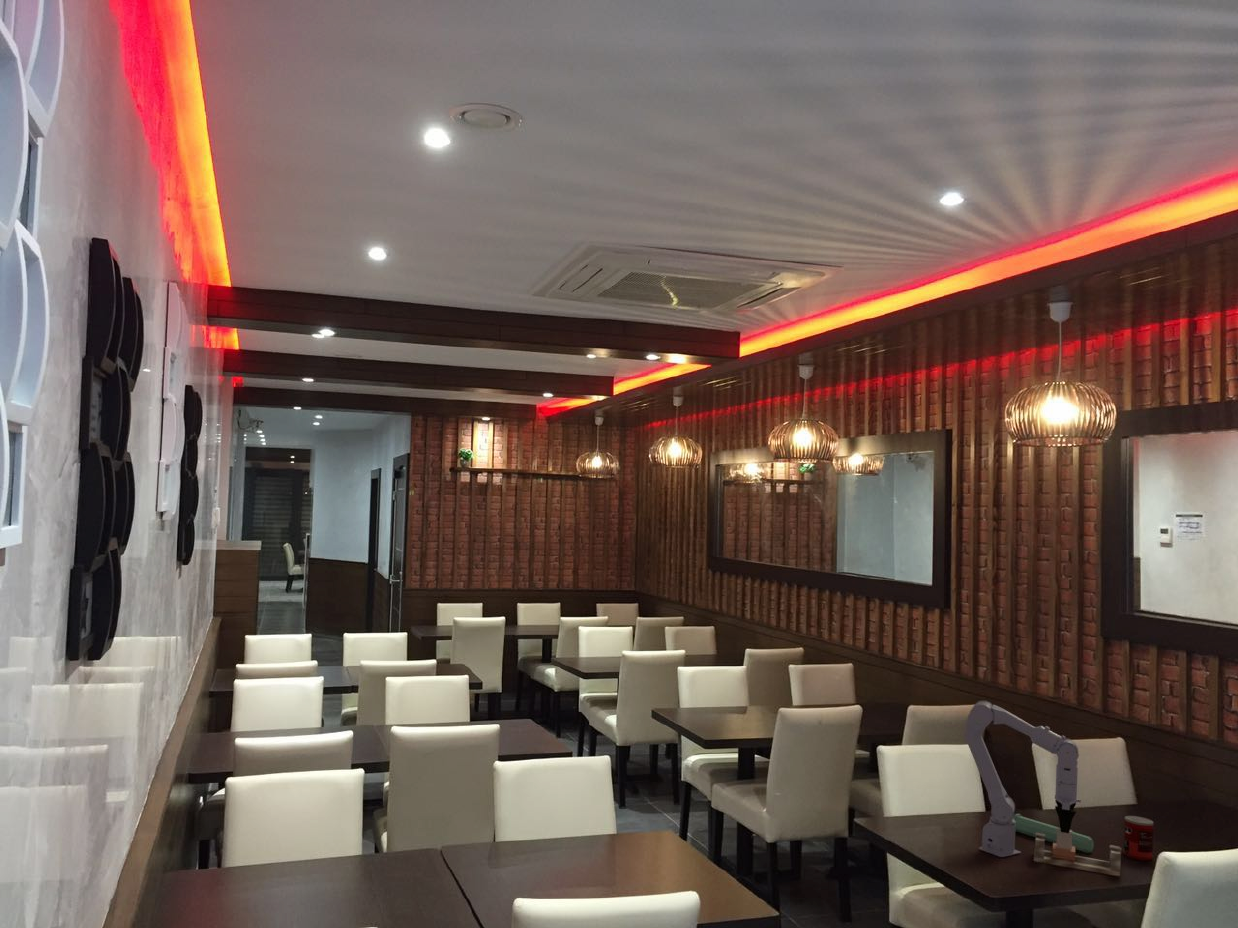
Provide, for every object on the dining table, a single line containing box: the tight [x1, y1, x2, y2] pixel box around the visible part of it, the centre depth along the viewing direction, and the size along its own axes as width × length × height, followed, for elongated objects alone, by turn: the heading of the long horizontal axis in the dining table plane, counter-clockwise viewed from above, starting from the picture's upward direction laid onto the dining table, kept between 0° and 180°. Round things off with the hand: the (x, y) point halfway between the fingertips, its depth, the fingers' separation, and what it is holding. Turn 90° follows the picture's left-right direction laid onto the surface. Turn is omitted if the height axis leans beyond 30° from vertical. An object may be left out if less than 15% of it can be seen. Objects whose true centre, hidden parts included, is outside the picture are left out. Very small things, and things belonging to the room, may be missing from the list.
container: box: [1013, 813, 1095, 854], centre depth 318 cm, size 6×6×25 cm
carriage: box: [1052, 827, 1076, 861], centre depth 298 cm, size 6×6×8 cm
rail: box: [1033, 833, 1123, 877], centre depth 297 cm, size 23×8×7 cm, turn 66°
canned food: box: [1123, 815, 1155, 861], centre depth 309 cm, size 8×8×11 cm
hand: (1064, 828), depth 298 cm, fingers open, 7 cm apart
